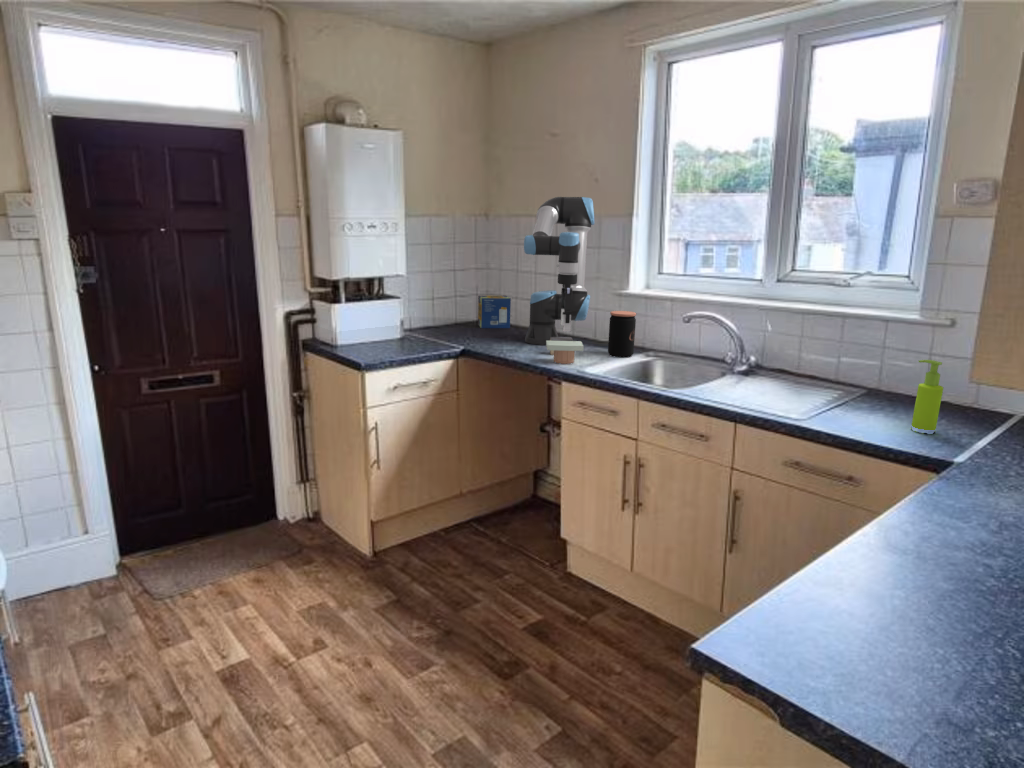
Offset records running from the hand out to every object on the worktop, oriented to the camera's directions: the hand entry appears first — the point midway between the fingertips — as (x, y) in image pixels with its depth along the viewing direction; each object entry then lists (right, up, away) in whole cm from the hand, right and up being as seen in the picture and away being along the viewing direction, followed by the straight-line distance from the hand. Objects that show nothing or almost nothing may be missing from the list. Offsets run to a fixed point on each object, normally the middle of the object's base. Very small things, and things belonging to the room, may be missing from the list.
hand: (565, 328), depth 263 cm
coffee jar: (+25, -10, +19) cm, 32 cm away
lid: (0, -8, +2) cm, 8 cm away
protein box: (-30, +7, +83) cm, 89 cm away
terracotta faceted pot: (0, -13, +3) cm, 13 cm away
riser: (0, -9, +18) cm, 21 cm away
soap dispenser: (+94, -35, -75) cm, 125 cm away
